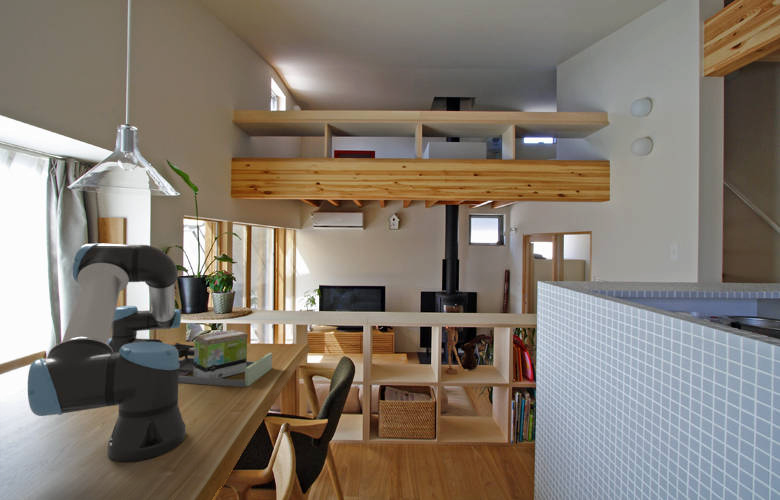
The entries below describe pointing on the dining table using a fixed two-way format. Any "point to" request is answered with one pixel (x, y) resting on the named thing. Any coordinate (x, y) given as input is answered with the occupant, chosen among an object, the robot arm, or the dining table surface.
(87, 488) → the dining table surface
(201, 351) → the tea box
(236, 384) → the channel
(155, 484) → the dining table surface
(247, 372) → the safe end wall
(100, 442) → the dining table surface
